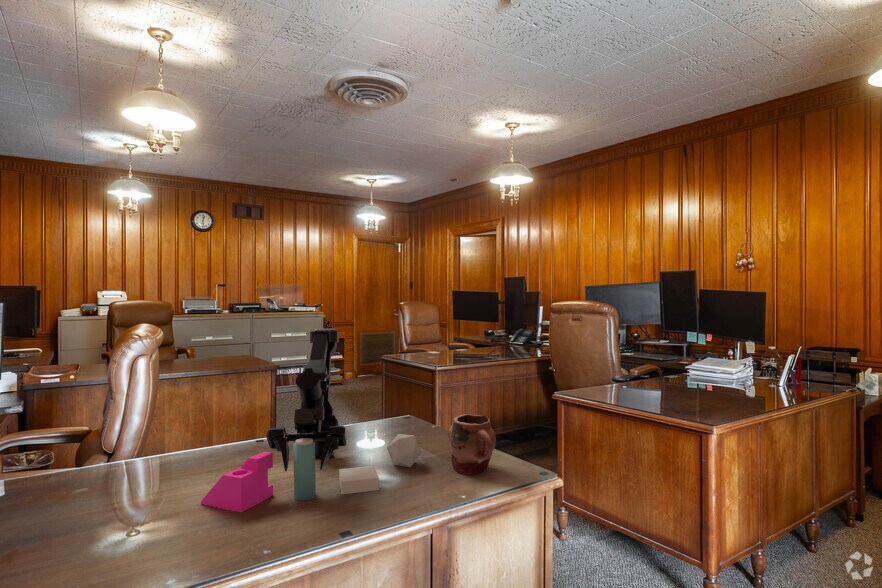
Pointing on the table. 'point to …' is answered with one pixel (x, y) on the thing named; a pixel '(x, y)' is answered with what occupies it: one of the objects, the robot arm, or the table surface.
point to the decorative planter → (471, 443)
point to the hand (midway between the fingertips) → (303, 469)
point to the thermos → (304, 469)
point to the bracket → (243, 485)
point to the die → (404, 450)
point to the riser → (358, 479)
